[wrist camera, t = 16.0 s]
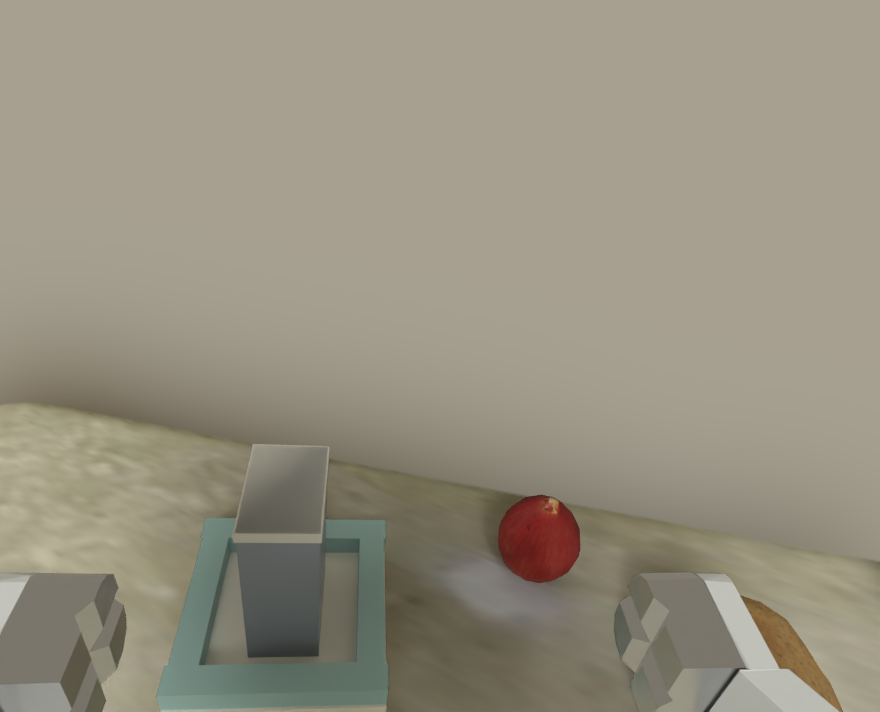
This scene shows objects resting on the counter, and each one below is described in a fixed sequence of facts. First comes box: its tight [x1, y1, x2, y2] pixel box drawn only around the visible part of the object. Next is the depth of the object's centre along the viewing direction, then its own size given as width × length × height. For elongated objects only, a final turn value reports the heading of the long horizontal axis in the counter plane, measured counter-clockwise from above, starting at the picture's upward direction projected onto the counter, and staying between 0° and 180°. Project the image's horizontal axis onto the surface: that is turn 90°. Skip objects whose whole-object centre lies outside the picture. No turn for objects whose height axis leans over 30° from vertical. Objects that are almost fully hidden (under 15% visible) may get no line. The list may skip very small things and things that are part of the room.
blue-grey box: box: [232, 444, 330, 658], centre depth 35 cm, size 4×6×11 cm
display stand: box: [156, 518, 388, 712], centre depth 39 cm, size 12×12×4 cm
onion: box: [498, 495, 580, 583], centre depth 44 cm, size 6×6×8 cm
